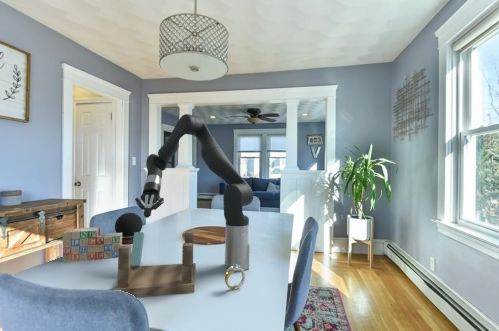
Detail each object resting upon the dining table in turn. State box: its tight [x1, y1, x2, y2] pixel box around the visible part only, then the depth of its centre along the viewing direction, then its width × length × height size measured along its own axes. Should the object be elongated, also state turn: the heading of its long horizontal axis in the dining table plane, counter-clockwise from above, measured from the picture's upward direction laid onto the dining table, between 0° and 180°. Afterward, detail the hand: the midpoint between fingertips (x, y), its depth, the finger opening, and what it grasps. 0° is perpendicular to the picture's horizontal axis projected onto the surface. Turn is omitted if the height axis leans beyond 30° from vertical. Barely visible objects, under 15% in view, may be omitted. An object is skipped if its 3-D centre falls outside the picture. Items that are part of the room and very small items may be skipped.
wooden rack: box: [112, 232, 197, 297], centre depth 88 cm, size 24×18×14 cm
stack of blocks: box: [61, 226, 123, 263], centre depth 111 cm, size 21×6×12 cm, turn 107°
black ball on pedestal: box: [114, 212, 143, 246], centre depth 134 cm, size 13×13×15 cm
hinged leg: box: [131, 231, 145, 267], centre depth 96 cm, size 3×3×12 cm
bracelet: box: [224, 264, 246, 291], centre depth 84 cm, size 7×3×8 cm, turn 114°
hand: (146, 216), depth 111 cm, fingers closed
